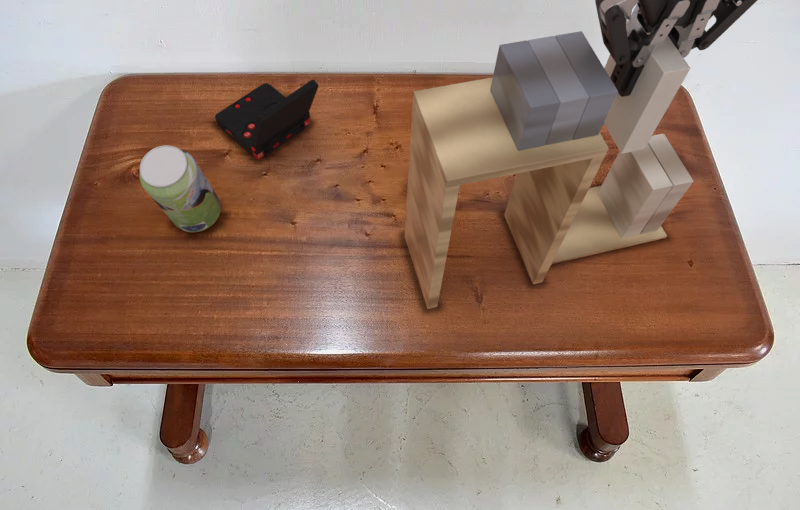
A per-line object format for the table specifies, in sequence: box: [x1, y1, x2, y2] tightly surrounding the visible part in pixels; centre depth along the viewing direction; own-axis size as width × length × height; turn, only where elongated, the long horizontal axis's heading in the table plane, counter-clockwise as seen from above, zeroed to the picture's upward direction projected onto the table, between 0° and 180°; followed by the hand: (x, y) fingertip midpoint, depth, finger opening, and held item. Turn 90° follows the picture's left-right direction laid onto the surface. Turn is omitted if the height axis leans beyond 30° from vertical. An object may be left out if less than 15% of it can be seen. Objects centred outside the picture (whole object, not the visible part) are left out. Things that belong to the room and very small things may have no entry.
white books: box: [551, 133, 694, 265], centre depth 70 cm, size 9×16×10 cm, turn 105°
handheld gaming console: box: [214, 79, 319, 160], centre depth 77 cm, size 9×12×10 cm
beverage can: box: [139, 144, 222, 233], centre depth 69 cm, size 6×7×12 cm
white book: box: [603, 17, 691, 154], centre depth 54 cm, size 7×2×10 cm, turn 15°
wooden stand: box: [404, 30, 618, 310], centre depth 59 cm, size 10×14×29 cm
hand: (636, 86), depth 54 cm, fingers closed on white book, 2 cm apart
